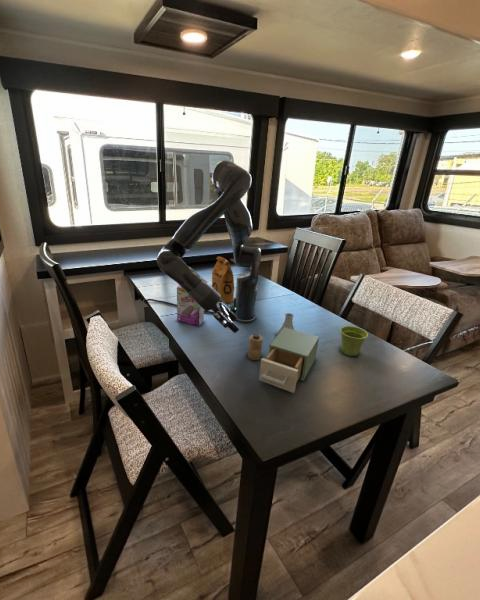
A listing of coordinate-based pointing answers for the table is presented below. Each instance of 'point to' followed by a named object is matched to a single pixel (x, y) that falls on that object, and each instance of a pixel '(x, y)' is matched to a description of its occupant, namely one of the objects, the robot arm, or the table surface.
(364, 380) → the table surface
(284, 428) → the table surface
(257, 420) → the table surface
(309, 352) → the cabinet
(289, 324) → the flask
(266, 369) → the drawer
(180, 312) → the candy bar box
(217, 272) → the coffee package
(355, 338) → the plant pot
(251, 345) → the pepper mill
